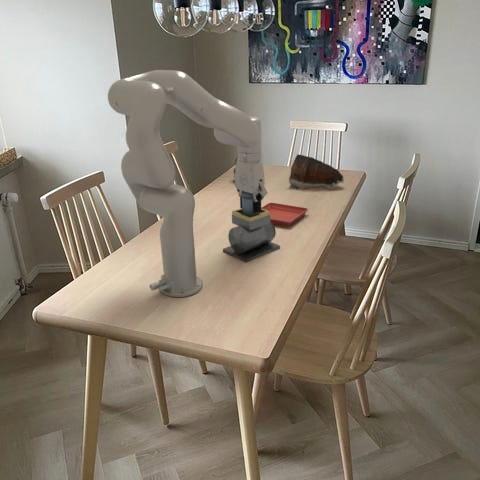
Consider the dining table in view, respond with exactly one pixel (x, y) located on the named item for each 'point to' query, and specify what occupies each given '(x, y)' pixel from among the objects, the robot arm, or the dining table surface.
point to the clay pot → (313, 173)
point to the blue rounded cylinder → (248, 204)
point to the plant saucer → (284, 213)
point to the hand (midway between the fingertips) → (250, 209)
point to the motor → (251, 236)
